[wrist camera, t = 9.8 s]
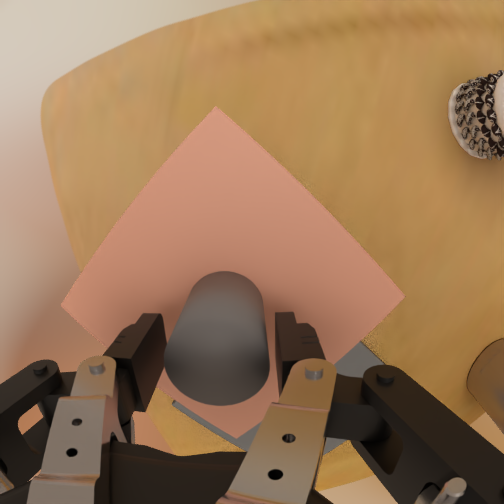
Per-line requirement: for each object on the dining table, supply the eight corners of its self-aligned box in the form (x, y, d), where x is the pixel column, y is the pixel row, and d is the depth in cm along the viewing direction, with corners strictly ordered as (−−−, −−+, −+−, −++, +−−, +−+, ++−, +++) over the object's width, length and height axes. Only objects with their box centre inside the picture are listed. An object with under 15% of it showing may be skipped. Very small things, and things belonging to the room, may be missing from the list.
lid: (397, 289, 16) (456, 342, 10) (236, 427, 18) (234, 502, 12) (218, 110, 14) (198, 72, 8) (68, 298, 16) (9, 349, 10)
